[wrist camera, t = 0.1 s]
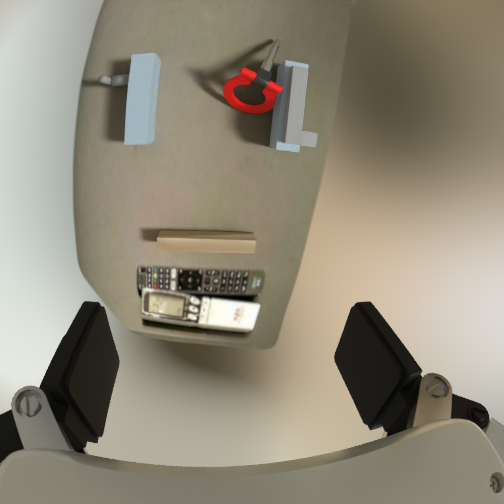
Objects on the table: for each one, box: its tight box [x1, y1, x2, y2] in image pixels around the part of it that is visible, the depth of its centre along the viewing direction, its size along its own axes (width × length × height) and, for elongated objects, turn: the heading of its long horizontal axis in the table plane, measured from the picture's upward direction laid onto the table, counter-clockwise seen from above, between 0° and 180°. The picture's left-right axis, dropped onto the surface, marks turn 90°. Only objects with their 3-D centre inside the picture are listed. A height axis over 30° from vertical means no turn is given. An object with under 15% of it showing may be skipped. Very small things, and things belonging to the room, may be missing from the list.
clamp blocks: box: [99, 53, 318, 152], centre depth 30 cm, size 12×28×6 cm, turn 85°
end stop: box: [157, 230, 256, 253], centre depth 40 cm, size 2×14×3 cm, turn 85°
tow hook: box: [223, 39, 283, 114], centre depth 31 cm, size 7×10×7 cm
